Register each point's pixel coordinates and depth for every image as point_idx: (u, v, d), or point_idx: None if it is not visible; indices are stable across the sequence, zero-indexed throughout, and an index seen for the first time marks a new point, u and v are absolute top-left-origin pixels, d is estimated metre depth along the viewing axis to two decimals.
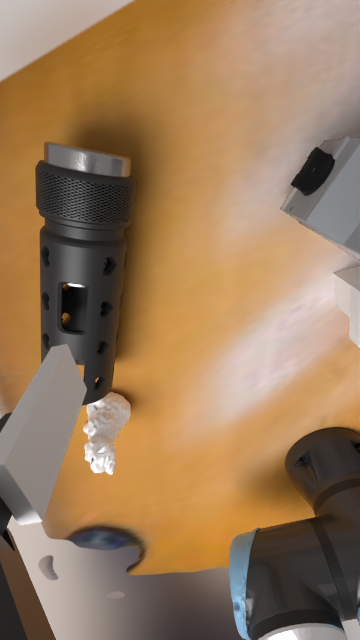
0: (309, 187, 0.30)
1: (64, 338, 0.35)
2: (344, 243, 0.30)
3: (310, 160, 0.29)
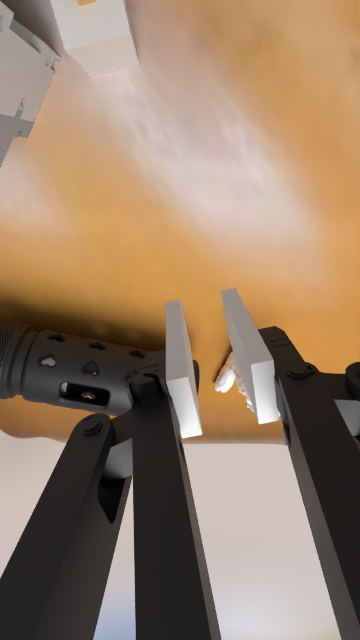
0: None
1: (114, 407, 0.38)
2: None
3: None
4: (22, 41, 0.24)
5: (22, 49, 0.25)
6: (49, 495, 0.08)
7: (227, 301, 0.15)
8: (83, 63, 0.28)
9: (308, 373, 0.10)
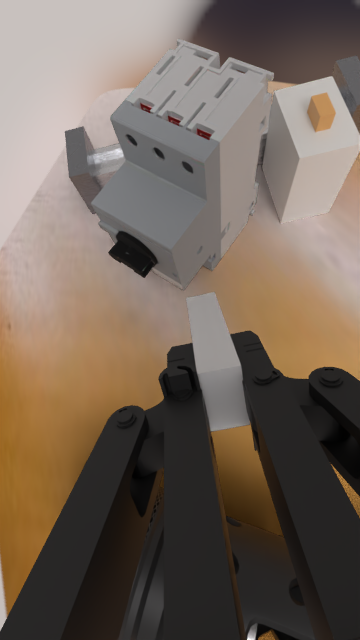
0: (146, 255, 0.25)
1: None
2: (205, 199, 0.23)
3: (118, 257, 0.26)
4: (257, 160, 0.27)
5: (253, 168, 0.27)
6: (83, 484, 0.08)
7: (204, 305, 0.15)
8: (294, 192, 0.30)
9: (273, 378, 0.10)
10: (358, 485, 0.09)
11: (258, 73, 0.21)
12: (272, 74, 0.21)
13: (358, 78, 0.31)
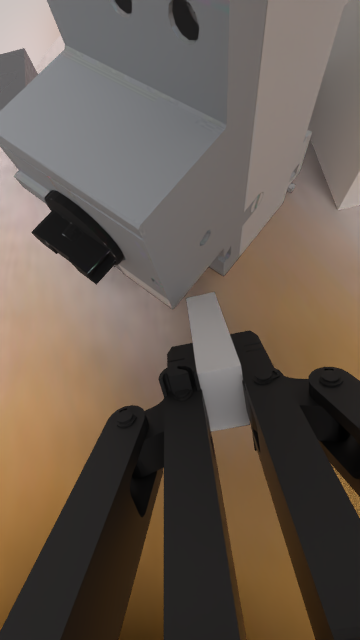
0: (98, 241, 0.13)
1: None
2: (222, 121, 0.10)
3: (47, 243, 0.13)
4: (322, 75, 0.14)
5: (314, 91, 0.15)
6: (83, 484, 0.08)
7: (204, 305, 0.15)
8: None
9: (273, 378, 0.10)
10: (358, 485, 0.09)
11: None
12: None
13: None
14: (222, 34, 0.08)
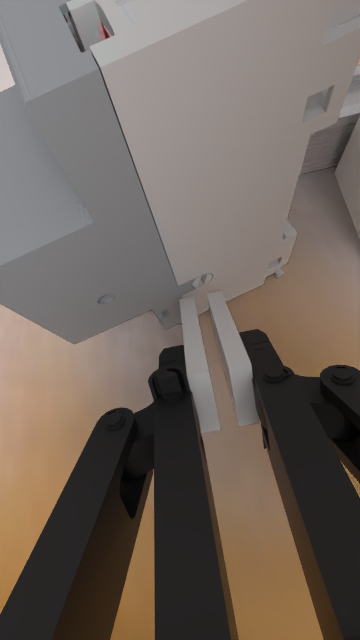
0: None
1: None
2: (91, 214, 0.10)
3: None
4: (292, 189, 0.12)
5: (281, 202, 0.13)
6: (72, 487, 0.08)
7: (211, 303, 0.15)
8: None
9: (284, 376, 0.10)
10: None
11: None
12: None
13: None
14: None
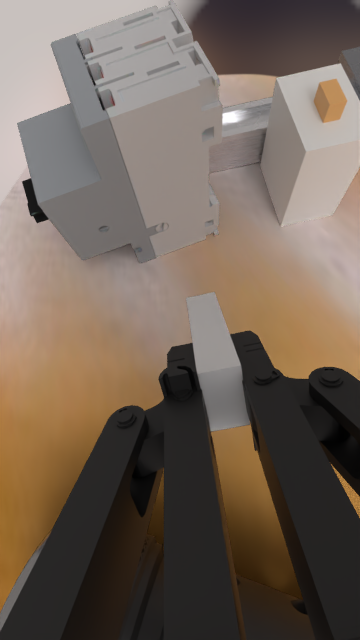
0: None
1: None
2: (100, 176, 0.21)
3: (25, 190, 0.25)
4: (207, 175, 0.24)
5: (202, 181, 0.24)
6: (83, 484, 0.08)
7: (204, 305, 0.15)
8: (297, 191, 0.27)
9: (273, 378, 0.10)
10: (359, 485, 0.09)
11: (206, 71, 0.18)
12: (217, 79, 0.17)
13: None
14: (87, 144, 0.18)
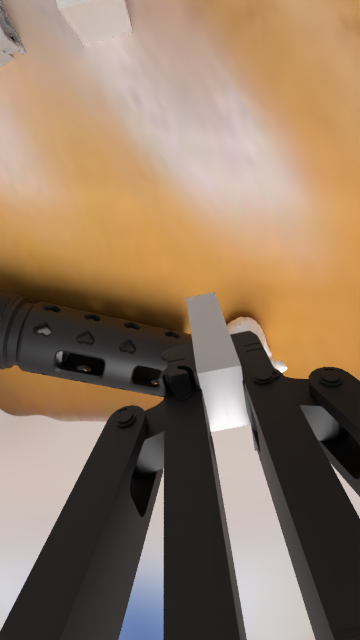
0: None
1: (109, 377, 0.39)
2: None
3: None
4: None
5: None
6: (83, 484, 0.08)
7: (204, 305, 0.15)
8: (77, 27, 0.28)
9: (273, 378, 0.10)
10: (358, 485, 0.09)
11: None
12: None
13: None
14: None
